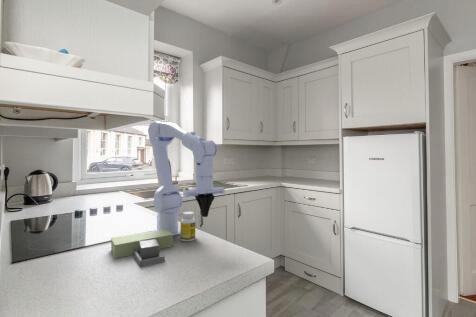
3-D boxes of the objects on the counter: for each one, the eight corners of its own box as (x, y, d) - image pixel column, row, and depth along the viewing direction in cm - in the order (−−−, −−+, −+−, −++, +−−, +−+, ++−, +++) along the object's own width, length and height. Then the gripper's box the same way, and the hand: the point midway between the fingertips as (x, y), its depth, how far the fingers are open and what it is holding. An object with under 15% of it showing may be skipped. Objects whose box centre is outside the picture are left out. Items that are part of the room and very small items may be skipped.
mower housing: (111, 249, 82) (111, 237, 82) (165, 239, 92) (165, 228, 92) (120, 271, 68) (120, 257, 68) (184, 256, 78) (184, 243, 78)
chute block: (139, 255, 79) (139, 241, 78) (156, 252, 81) (156, 239, 81) (141, 263, 73) (141, 248, 73) (159, 260, 75) (158, 245, 75)
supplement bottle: (192, 242, 90) (192, 215, 90) (178, 241, 91) (177, 214, 91) (197, 237, 95) (197, 211, 95) (184, 236, 96) (184, 210, 96)
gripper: (188, 178, 78) (188, 222, 78) (229, 176, 86) (229, 215, 86) (180, 176, 84) (180, 217, 84) (219, 174, 92) (219, 211, 92)
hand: (204, 216), depth 86 cm, fingers closed
